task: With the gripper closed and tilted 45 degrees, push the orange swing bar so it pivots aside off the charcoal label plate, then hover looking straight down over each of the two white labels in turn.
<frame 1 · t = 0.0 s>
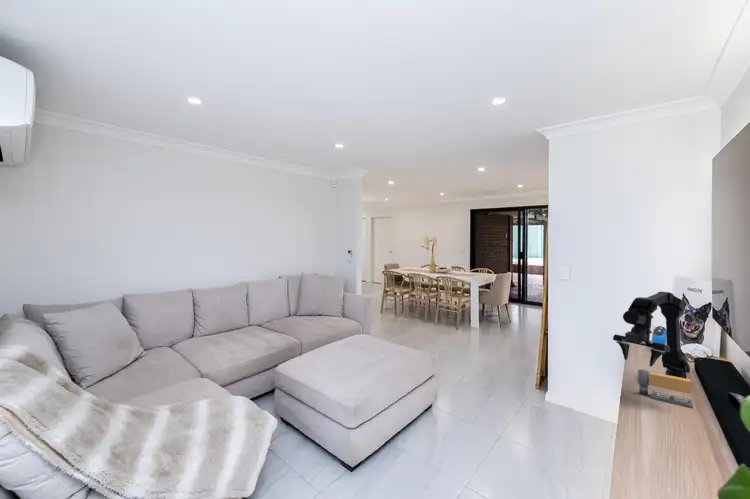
hand: (637, 362, 139), 15 cm above the table, tool pointing down, fingers open, 9 cm apart
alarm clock: (660, 351, 199), on the table
swing bar: (663, 381, 139), point 7 cm above the table, hinge at 0.0°
label plate: (671, 400, 137), on the table
grey grooved cylinder: (643, 393, 144), on the table
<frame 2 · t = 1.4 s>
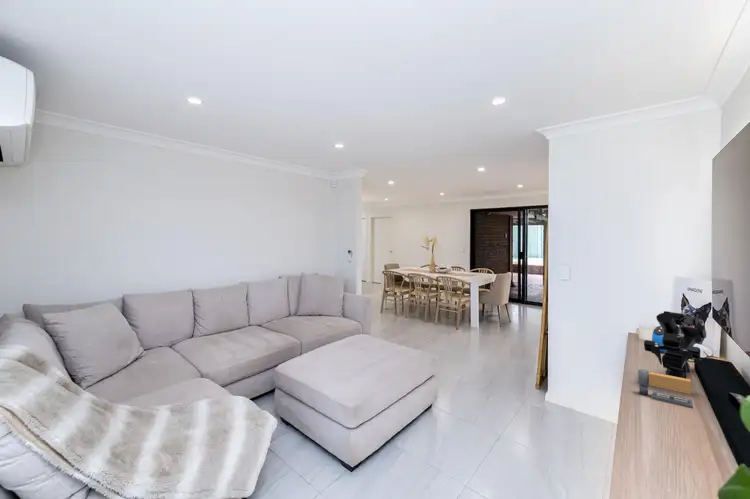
hand: (671, 365, 143), 13 cm above the table, tool tilted 45°, fingers open, 6 cm apart
nothing on the table moved.
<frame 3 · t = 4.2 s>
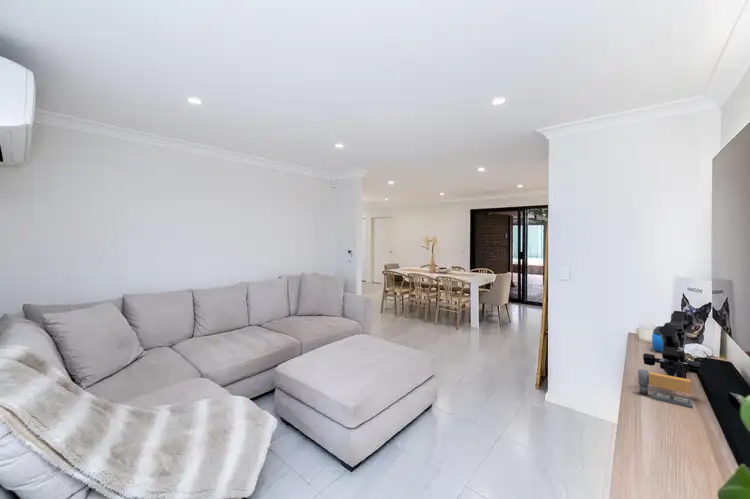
hand: (670, 380, 138), 8 cm above the table, tool tilted 45°, fingers closed, pressing on swing bar
swing bar: (663, 381, 139), point 7 cm above the table, hinge at 1.0°, touching gripper
everything else where it was.
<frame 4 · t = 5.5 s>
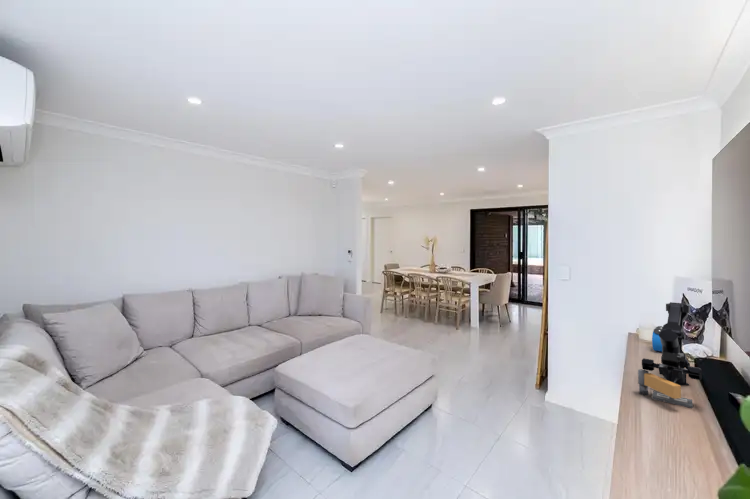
hand: (670, 387, 133), 7 cm above the table, tool tilted 45°, fingers closed
swing bar: (657, 383, 137), point 7 cm above the table, hinge at 42.3°, touching gripper
everything else where it was.
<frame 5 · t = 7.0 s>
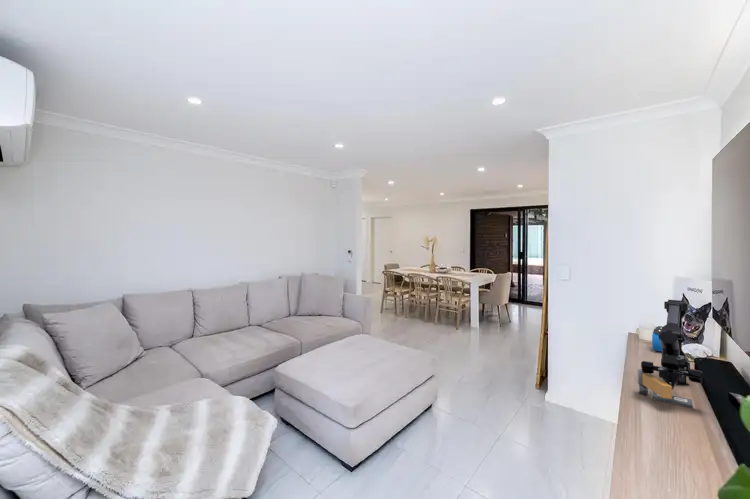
hand: (670, 390, 130), 7 cm above the table, tool tilted 45°, fingers closed
swing bar: (653, 383, 137), point 7 cm above the table, hinge at 56.6°, touching gripper
everything else where it was.
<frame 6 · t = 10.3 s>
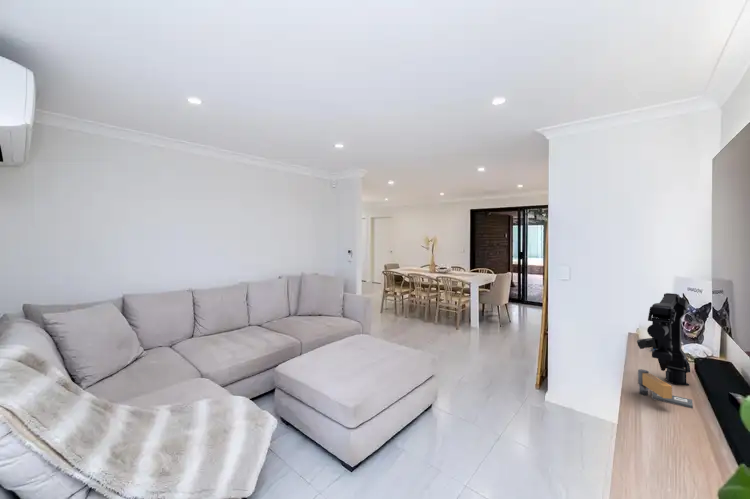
hand: (662, 370, 139), 12 cm above the table, tool pointing down, fingers closed
swing bar: (653, 383, 137), point 7 cm above the table, hinge at 56.6°
everything else where it was.
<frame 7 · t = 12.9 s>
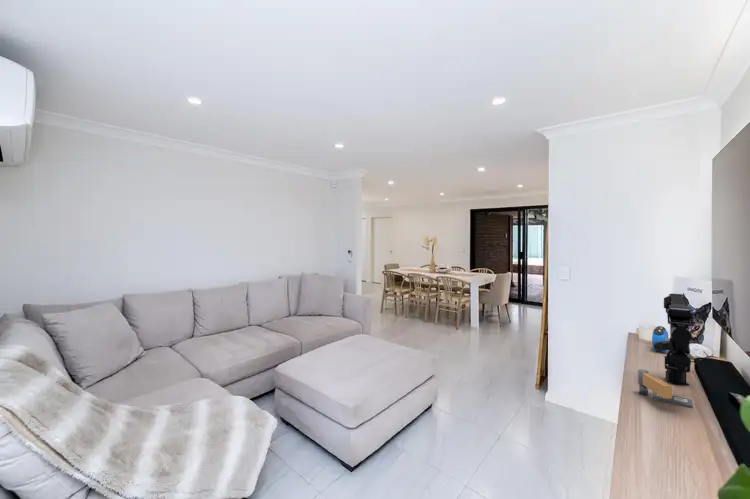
hand: (680, 373, 135), 12 cm above the table, tool pointing down, fingers closed
nothing on the table moved.
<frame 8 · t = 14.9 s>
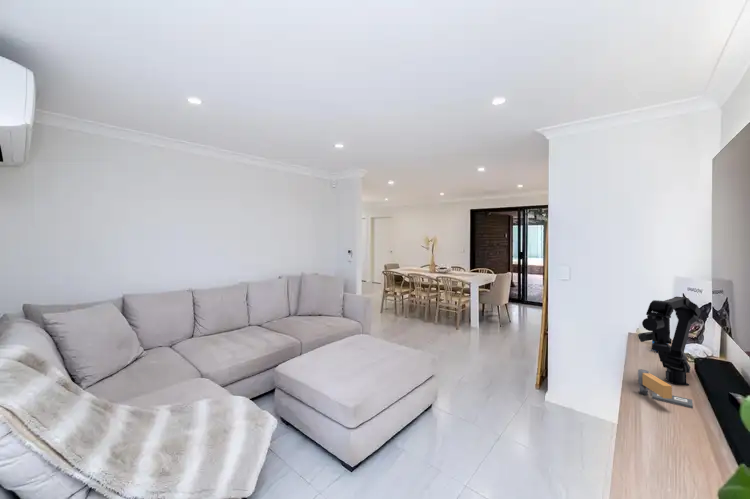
hand: (662, 361, 149), 12 cm above the table, tool pointing down, fingers closed
nothing on the table moved.
at the end: swing bar at +57° (first picture: +0°) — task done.
